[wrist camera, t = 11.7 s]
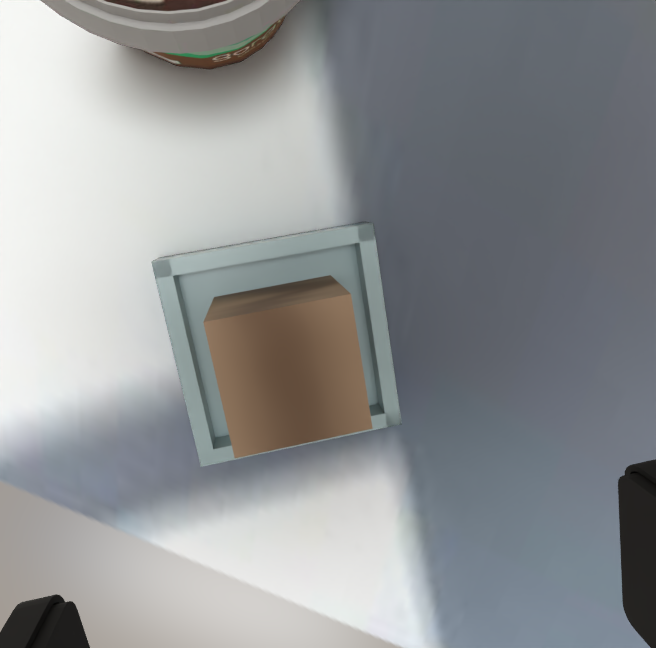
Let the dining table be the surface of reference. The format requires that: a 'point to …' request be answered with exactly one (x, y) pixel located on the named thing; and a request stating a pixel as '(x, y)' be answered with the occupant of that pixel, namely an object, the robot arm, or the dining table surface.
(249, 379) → the cube
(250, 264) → the tray
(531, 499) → the dining table surface
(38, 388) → the dining table surface
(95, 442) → the dining table surface
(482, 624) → the dining table surface
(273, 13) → the food container
